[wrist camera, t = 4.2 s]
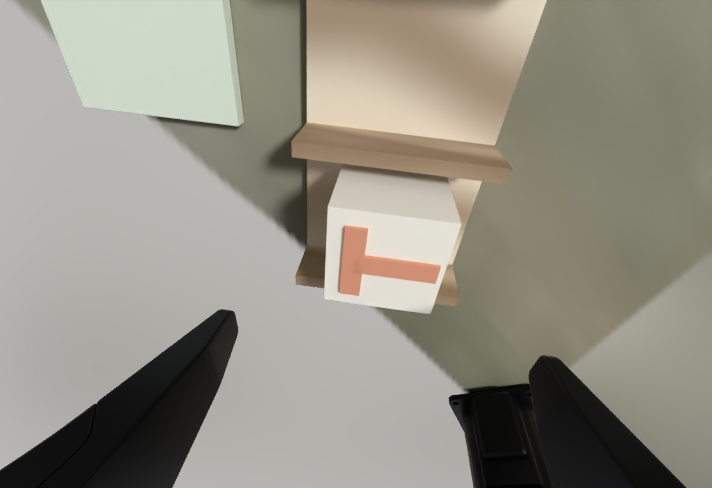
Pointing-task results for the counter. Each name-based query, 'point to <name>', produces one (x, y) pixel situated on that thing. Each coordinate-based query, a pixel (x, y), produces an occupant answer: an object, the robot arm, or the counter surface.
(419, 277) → the letter cube
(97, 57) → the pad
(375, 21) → the slot rack
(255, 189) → the counter surface
